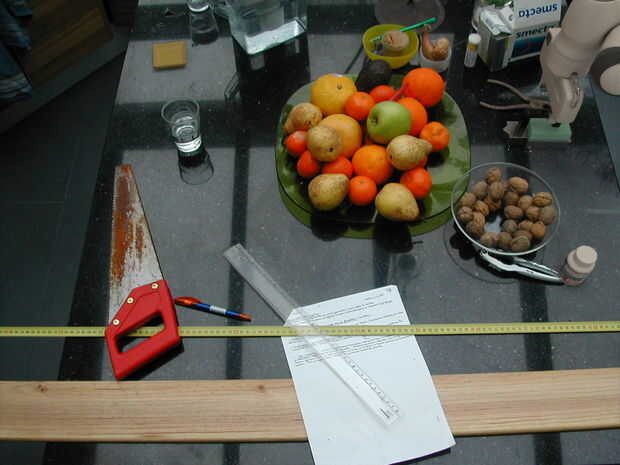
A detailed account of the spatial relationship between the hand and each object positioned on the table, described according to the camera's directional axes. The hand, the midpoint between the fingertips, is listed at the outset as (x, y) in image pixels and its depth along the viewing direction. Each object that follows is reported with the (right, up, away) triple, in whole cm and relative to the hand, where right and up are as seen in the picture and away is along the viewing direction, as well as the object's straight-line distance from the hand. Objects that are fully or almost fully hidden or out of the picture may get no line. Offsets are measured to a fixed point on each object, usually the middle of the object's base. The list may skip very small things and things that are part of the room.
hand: (546, 105), depth 126 cm
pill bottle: (+1, -37, -9) cm, 38 cm away
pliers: (0, +5, +16) cm, 17 cm away
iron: (0, -6, +10) cm, 11 cm away
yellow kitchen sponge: (-90, +18, +26) cm, 96 cm away
